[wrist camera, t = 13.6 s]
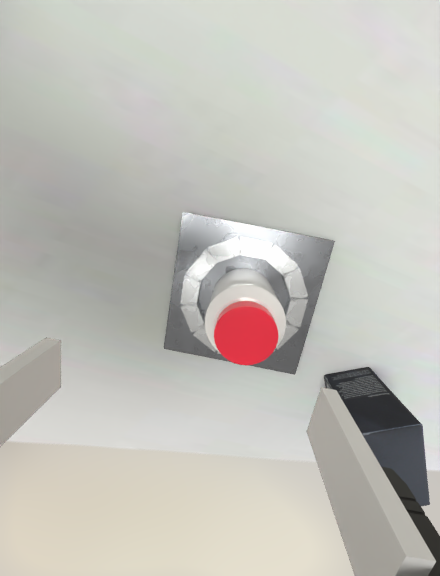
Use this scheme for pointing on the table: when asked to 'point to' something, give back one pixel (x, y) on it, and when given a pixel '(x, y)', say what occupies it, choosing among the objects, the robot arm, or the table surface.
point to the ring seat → (251, 255)
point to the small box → (385, 426)
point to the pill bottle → (244, 317)
